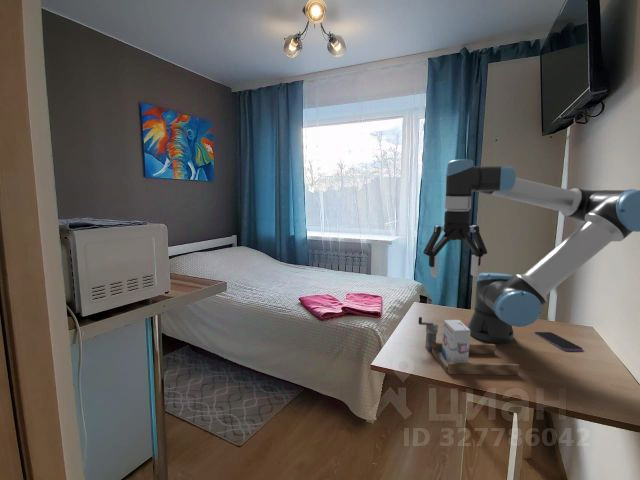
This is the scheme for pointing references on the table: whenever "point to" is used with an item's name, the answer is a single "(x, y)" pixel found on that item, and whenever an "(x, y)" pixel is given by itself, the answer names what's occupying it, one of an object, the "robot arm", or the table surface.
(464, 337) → the ink box
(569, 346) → the smartphone
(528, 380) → the table surface
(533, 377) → the table surface
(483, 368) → the bay
